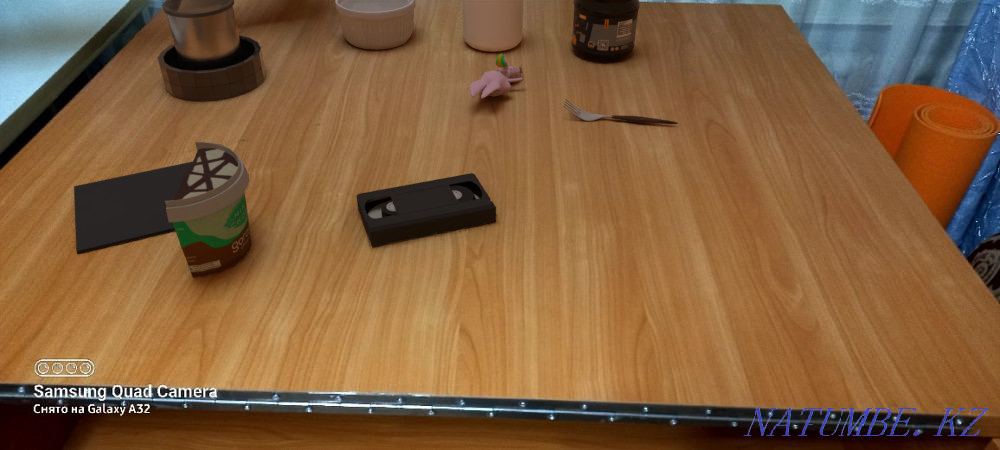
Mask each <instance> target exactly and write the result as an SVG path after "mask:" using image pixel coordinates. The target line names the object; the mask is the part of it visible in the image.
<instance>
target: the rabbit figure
mask: <svg viewBox="0 0 1000 450" xmlns="http://www.w3.org/2000/svg"><path fill="white" fill-rule="evenodd" d="M495 66H497V68H496V70H489V71H484V72H483V74H482V75H481V77H480V79H478V80H475V81H473V82H471V83H470V85H469V95H470V97H472V98H474V97H475V96H477V95H478V94H479V93H480V92H482V93H481V96H480V99H485V98H487V97H488V96H489V97H492V98H495V97H499V96H501V95H505V94H507V93H508V92H510V91H511V90H512V85H511V83H512V84H513V83H517V82H523V80H524V78H523V77H522V75H524V72H523V68H522V64H521V65H518V66H517V67H515V66H512V65H508V61H506V60H505V55H504V53H500V54H498V55H497V57H496V60H495Z"/></svg>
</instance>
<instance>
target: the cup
mask: <svg viewBox="0 0 1000 450" xmlns="http://www.w3.org/2000/svg"><path fill="white" fill-rule="evenodd" d="M523 23H524V0H462V32H463V33H462V34H463V40H464V41H465V42H466V44H467V45H468V46H470V47H471V48H472V49H475V50H478V51H481V52H482V51H483V52H491V53H492V52H493V53H494V52H504V51H508V50H511V49H514V48H515V47H517V46H518V45H519V44H520V43H521V41H522V40H523V32H524V31H523V29H524V26H523V25H524V24H523Z"/></svg>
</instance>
